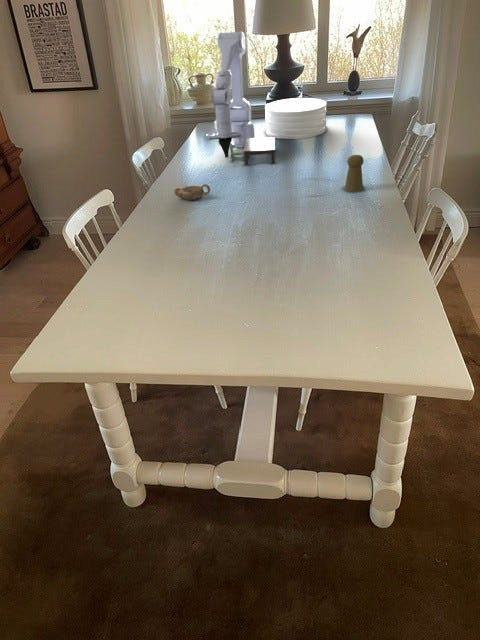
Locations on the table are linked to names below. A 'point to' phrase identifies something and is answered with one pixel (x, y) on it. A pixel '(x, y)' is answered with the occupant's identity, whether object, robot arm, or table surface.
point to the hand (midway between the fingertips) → (226, 157)
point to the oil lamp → (191, 192)
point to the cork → (354, 173)
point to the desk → (259, 148)
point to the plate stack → (296, 118)
